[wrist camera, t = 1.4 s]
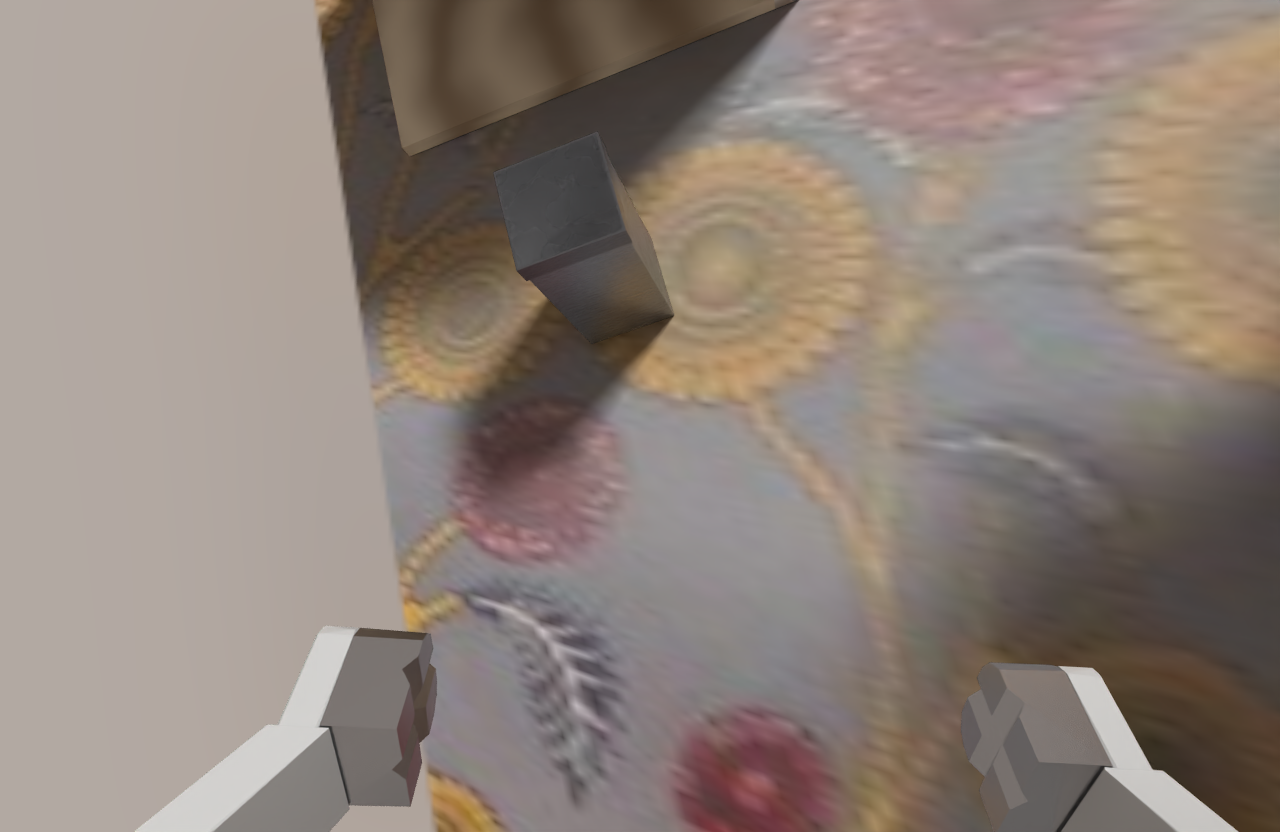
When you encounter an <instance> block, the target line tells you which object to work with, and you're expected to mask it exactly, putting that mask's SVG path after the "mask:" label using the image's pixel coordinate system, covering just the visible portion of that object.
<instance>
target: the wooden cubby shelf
mask: <svg viewBox="0 0 1280 832" xmlns="http://www.w3.org/2000/svg"><path fill="white" fill-rule="evenodd" d="M794 1H796V0H372V3H373V7H374V12H375V17H376V22H377V27H378V32H379V37H380V42H381V47H382V52H383V57H384V62H385V67H386V71H387V76H388V81H389V86H390V91H391V96H392V101H393V106H394V111H395V116H396V121H397V126H398V131H399V136H400V140H401V145H402V149H403V150H404V151H405V152H406V153H407V154H408V155H409V156H412V155H415V154H417V153H420V152H422V151H425V150H427V149H430V148H432V147H435V146H437V145H440V144H442V143H445V142H447V141H449V140H452V139H454V138H457V137H459V136H462V135H464V134H467V133H469V132H472V131H474V130H477V129H479V128H482V127H484V126H487V125H489V124H492V123H494V122H497V121H499V120H501V119H504V118H506V117H509V116H511V115H514V114H516V113H519V112H521V111H524V110H526V109H529V108H531V107H534V106H536V105H539V104H541V103H544V102H546V101H549V100H551V99H553V98H556V97H558V96H561V95H563V94H566V93H568V92H571V91H573V90H576V89H578V88H581V87H583V86H586V85H588V84H591V83H593V82H596V81H598V80H600V79H603V78H605V77H608V76H610V75H613V74H615V73H618V72H620V71H623V70H625V69H628V68H630V67H633V66H635V65H638V64H640V63H643V62H645V61H648V60H650V59H652V58H655V57H657V56H660V55H662V54H665V53H667V52H670V51H672V50H675V49H677V48H680V47H682V46H685V45H687V44H690V43H692V42H695V41H697V40H700V39H702V38H704V37H707V36H709V35H712V34H714V33H717V32H719V31H722V30H724V29H727V28H729V27H732V26H734V25H737V24H739V23H742V22H744V21H747V20H749V19H752V18H754V17H756V16H759V15H761V14H764V13H766V12H769V11H771V10H774V9H776V8H779V7H781V6H784V5H786V4H789V3H791V2H794Z"/></svg>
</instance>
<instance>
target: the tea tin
mask: <svg viewBox="0 0 1280 832" xmlns="http://www.w3.org/2000/svg"><path fill="white" fill-rule="evenodd" d="M493 174H494V178H495V182H496V186H497V190H498V195H499V199H500V203H501V207H502V211H503V216H504V220H505V224H506V228H507V232H508V237H509V241H510V245H511V249H512V253H513V258H514V262H515V266H516V270H517V272H518V273H519V274H520V275H521V276H522V277H523V278H524V279H525V280H526V281H528V280H530V281H531V282H532V283H533V284H534V285H535V286H536V287H537V288H538V289H539V290H540V291H541V292H542V293H543V294H544V295H545V296H546V297H547V298H548V299H549V300H550V301H551V302H552V303H553V304H554V305H555V306H556V308H557V309H558V310H559V311H560V312H561V313H562V314H563V315H564V316H565V317H566V318H567V319H568V320H569V321H570V322H571V323H572V324H573V325H574V326H575V327H576V328H577V329H578V330H579V331H580V332H581V333H582V334H583V335H584V336H585V337H586V338H587V340H588V341H589V342H590V343H591V344H593V343H596V342H599V341H602V340H605V339H608V338H611V337H613V336H616V335H619V334H622V333H625V332H628V331H631V330H634V329H637V328H639V327H642V326H645V325H648V324H651V323H654V322H657V321H660V320H663V319H665V318H668V317H671V316H674V313H673V310H672V306H671V303H670V300H669V296H668V293H667V289H666V286H665V283H664V279H663V276H662V272H661V269H660V266H659V262H658V259H657V256H656V252H655V249H654V245H653V242H652V239H651V237H650V235H649V233H648V231H647V229H646V227H645V225H644V224H643V222H642V220H641V218H640V216H639V214H638V212H637V210H636V209H635V207H634V205H633V203H632V201H631V199H630V197H629V195H628V193H627V192H626V190H625V188H624V186H623V184H622V182H621V180H620V178H619V176H618V175H617V173H616V171H615V169H614V167H613V165H612V163H611V161H610V159H609V158H608V154H607V151H606V147H605V145H604V143H603V141H602V139H601V137H600V135H599V133H598V131H597V132H595V133H592V134H590V135H587V136H585V137H582V138H580V139H577V140H574V141H572V142H569V143H567V144H564V145H562V146H559V147H557V148H554V149H552V150H549V151H546V152H544V153H541V154H539V155H536V156H534V157H531V158H529V159H526V160H523V161H521V162H518V163H516V164H513V165H511V166H508V167H506V168H503V169H501V170H498V171H495V172H493Z"/></svg>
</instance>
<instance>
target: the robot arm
mask: <svg viewBox="0 0 1280 832" xmlns="http://www.w3.org/2000/svg"><path fill="white" fill-rule="evenodd" d="M432 651H433V645H432V639H431V634H428V633H417V632H405V631H393V630H392V631H391V630H380V629H368V628H354V627H338V626H324V627H323V628H322V630H321V631H320V632H319V633H318V634H317V636H316V638H315V640H314V642H313V645H312V647H311V649H310V652H309V654H308V656H307V658H306V661H305V663H304V665H303V668H302V670H301V672H300V675H299V677H298V679H297V681H296V684H295V686H294V688H293V690H292V693H291V695H290V697H289V700H288V702H287V704H286V706H285V709H284V711H283V713H282V716H281V718H280V720H279V722H278V725H266V726H265V727H263V728H262V729H261V730H260V731H258V732H257V733H256V734H255V735H253V736H252V737H251V738H250V739H248V740H247V741H246V742H245V743H244V744H242V745H241V746H240V747H238V749H236V750H235V751H233V752H232V753H231V754H230V755H229V756H227V757H226V758H225V759H224V760H222V761H221V762H220V763H219V764H217V765H216V766H215V767H214V768H212V769H211V770H210V771H209V772H207V773H206V774H205V775H204V776H202V777H201V778H200V779H199V780H198V781H196V782H195V783H194V784H192V785H191V786H190V787H189V788H188V789H186V790H185V791H184V792H183V793H181V794H180V795H179V796H178V797H176V798H175V799H174V800H173V801H171V802H170V803H169V804H168V805H166V806H165V807H164V808H163V809H161V810H160V811H159V812H158V813H156V814H155V815H154V816H153V817H152V818H150V819H149V820H148V821H147V822H145V823H144V824H143V825H142V826H140V827H139V828H138V829H137V830H136V831H134V832H330V831H331V829H332V828H333V827H334V826H335V825H336V824H337V823H338V822H339V820H340V819H341V818H342V817H343V816H344V815H345V813H347V811H348V810H349V805H360V806H361V805H362V806H409V807H410V806H411V802H412V799H413V795H414V791H415V787H416V783H417V780H418V776H419V772H420V768H421V764H422V759H421V752H420V744H419V743H420V742H421V741H422V740H423V739H424V738H425V737H426V736H428V735H429V733H430V729H431V725H432V721H433V717H434V710H435V703H436V696H437V676H436V669H435V668H434V667H433V666H432V665H431V664H430V659H431V655H432ZM977 679H978V682H979V685H980V687H981V689H980V690H979V691H977V692H976V693H974V694H972V695H971V696H969V697H968V698H967V701H966V703H965V706H964V708H963V710H962V720H961V733H962V739H963V745H964V748H965V751H966V754H967V757H968V760H969V762H970V763H971V764H972V765H973V766H974V767H975V768H976V769H977V770H978V771H979V772H980V773H981V774H982V775H983V776H984V779H983V782H982V784H981V787H980V789H979V792H980V795H981V798H982V800H983V803H984V806H985V809H986V812H987V815H988V817H989V820H990V823H991V826H992V829H993V831H994V832H1238V831H1237V830H1236V829H1234V828H1233V827H1232V826H1231V825H1229V824H1228V823H1227V822H1226V821H1224V820H1223V819H1222V818H1221V817H1220V816H1218V815H1217V814H1216V813H1215V812H1213V811H1212V810H1211V809H1210V808H1208V807H1207V806H1206V805H1205V804H1203V803H1202V802H1201V801H1200V800H1199V799H1197V798H1196V797H1195V796H1194V795H1192V794H1191V793H1190V792H1189V791H1187V790H1186V789H1185V788H1184V787H1183V786H1181V785H1180V784H1179V783H1178V782H1176V781H1175V780H1174V779H1173V778H1171V777H1170V776H1169V775H1168V774H1167V773H1165V772H1164V771H1161V770H1153V769H1152V768H1151V766H1150V764H1149V762H1148V760H1147V759H1146V757H1145V755H1144V753H1143V751H1142V750H1141V748H1140V746H1139V744H1138V742H1137V741H1136V739H1135V737H1134V735H1133V733H1132V732H1131V730H1130V728H1129V726H1128V724H1127V723H1126V721H1125V719H1124V717H1123V715H1122V713H1121V712H1120V710H1119V708H1118V706H1117V704H1116V703H1115V701H1114V699H1113V697H1112V695H1111V694H1110V692H1109V690H1108V688H1107V686H1106V685H1105V683H1104V681H1103V679H1102V677H1101V676H1100V674H1099V673H1098V672H1096V671H1095V670H1094V669H1093V668H1085V667H1066V666H1053V665H1039V664H1014V663H988V664H986V665H985V666H983V667H982V669H981V671H980V673H979V675H978V677H977Z"/></svg>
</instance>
